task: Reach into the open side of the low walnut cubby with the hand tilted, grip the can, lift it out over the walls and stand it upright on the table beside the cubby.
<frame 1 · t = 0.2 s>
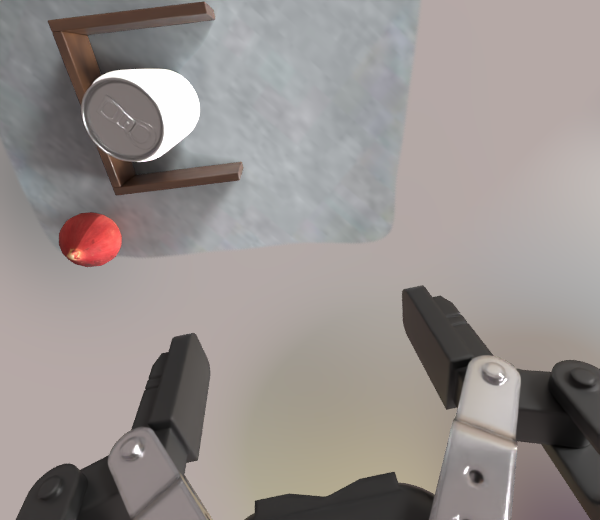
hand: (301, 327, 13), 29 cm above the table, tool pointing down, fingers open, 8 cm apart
can: (168, 104, 35), on the table
onion: (106, 225, 41), on the table
cubby: (168, 104, 35), on the table
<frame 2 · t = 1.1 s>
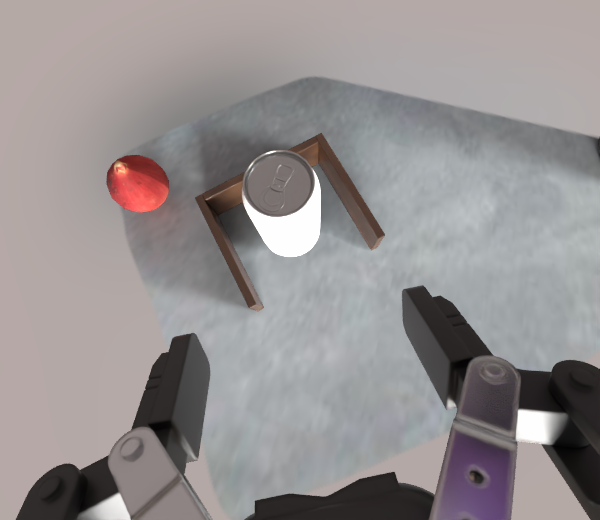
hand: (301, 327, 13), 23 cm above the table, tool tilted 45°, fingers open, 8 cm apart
can: (291, 230, 38), on the table
onion: (156, 198, 40), on the table
cubby: (290, 229, 38), on the table
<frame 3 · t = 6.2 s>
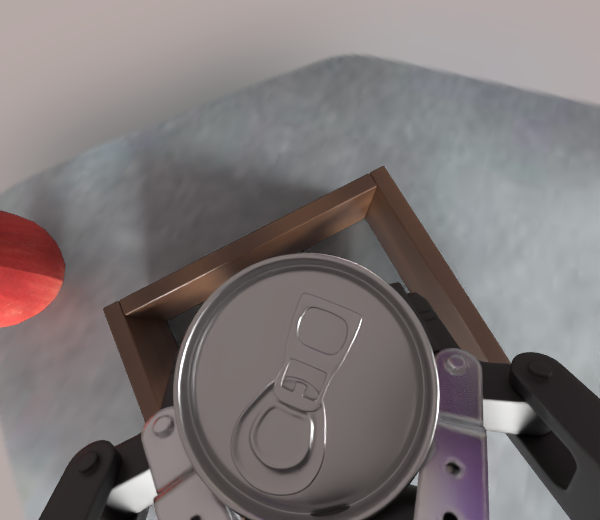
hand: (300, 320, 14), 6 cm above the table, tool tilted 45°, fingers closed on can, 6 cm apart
can: (312, 354, 19), on the table, touching gripper
onion: (52, 282, 21), on the table
cubby: (312, 355, 19), on the table
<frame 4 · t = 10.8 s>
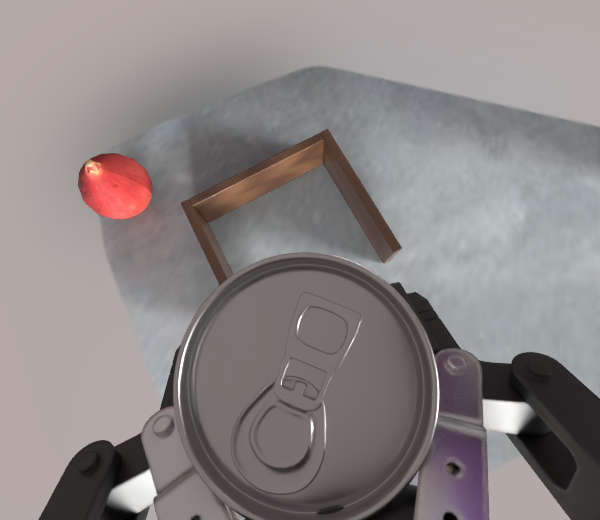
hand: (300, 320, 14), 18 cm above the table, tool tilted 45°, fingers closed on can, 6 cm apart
can: (311, 354, 19), point 12 cm above the table, touching gripper
onion: (138, 203, 35), on the table
cubby: (291, 239, 33), on the table
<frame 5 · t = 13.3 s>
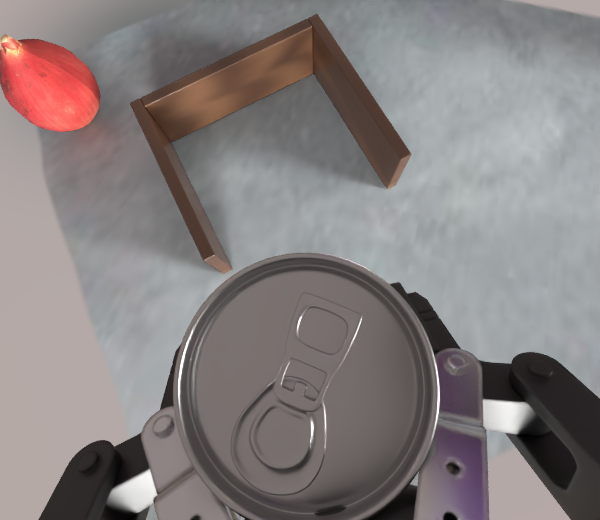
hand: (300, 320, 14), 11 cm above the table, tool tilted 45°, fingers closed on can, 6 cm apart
can: (311, 354, 19), point 5 cm above the table, touching gripper
onion: (88, 121, 29), on the table
cubby: (273, 161, 27), on the table
when the fingers open (6 cm above the table, at t = 15.3 s): can stays where it is, on the table.
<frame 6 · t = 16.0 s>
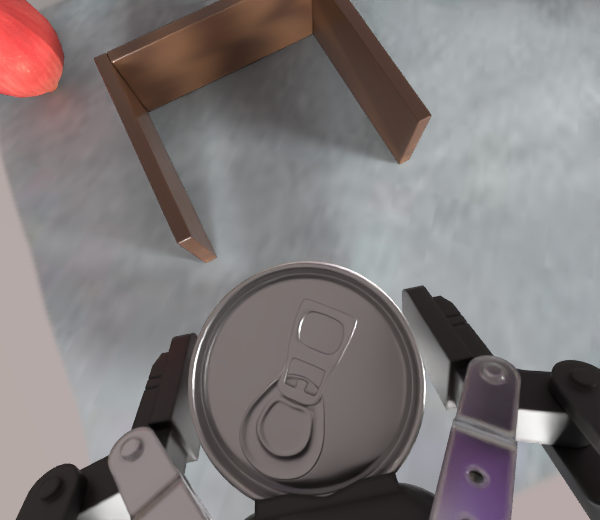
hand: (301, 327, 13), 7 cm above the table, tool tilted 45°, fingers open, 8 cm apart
can: (312, 354, 20), on the table
onion: (53, 89, 25), on the table
cubby: (266, 133, 23), on the table
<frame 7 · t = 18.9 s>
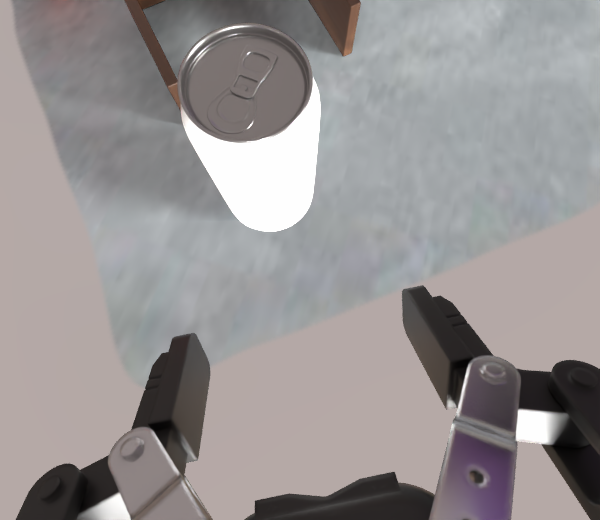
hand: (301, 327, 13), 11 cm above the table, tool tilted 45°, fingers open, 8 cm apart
can: (270, 193, 26), on the table
cubby: (239, 29, 29), on the table
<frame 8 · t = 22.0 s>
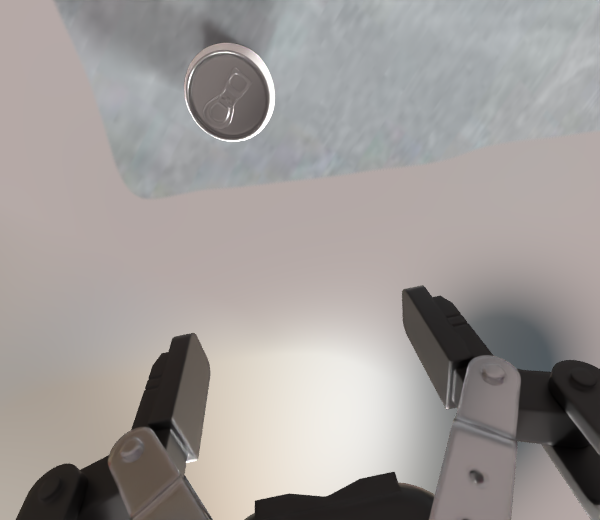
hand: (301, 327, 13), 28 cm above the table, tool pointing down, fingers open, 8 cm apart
can: (237, 83, 34), on the table
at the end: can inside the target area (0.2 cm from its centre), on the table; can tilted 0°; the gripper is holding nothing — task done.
